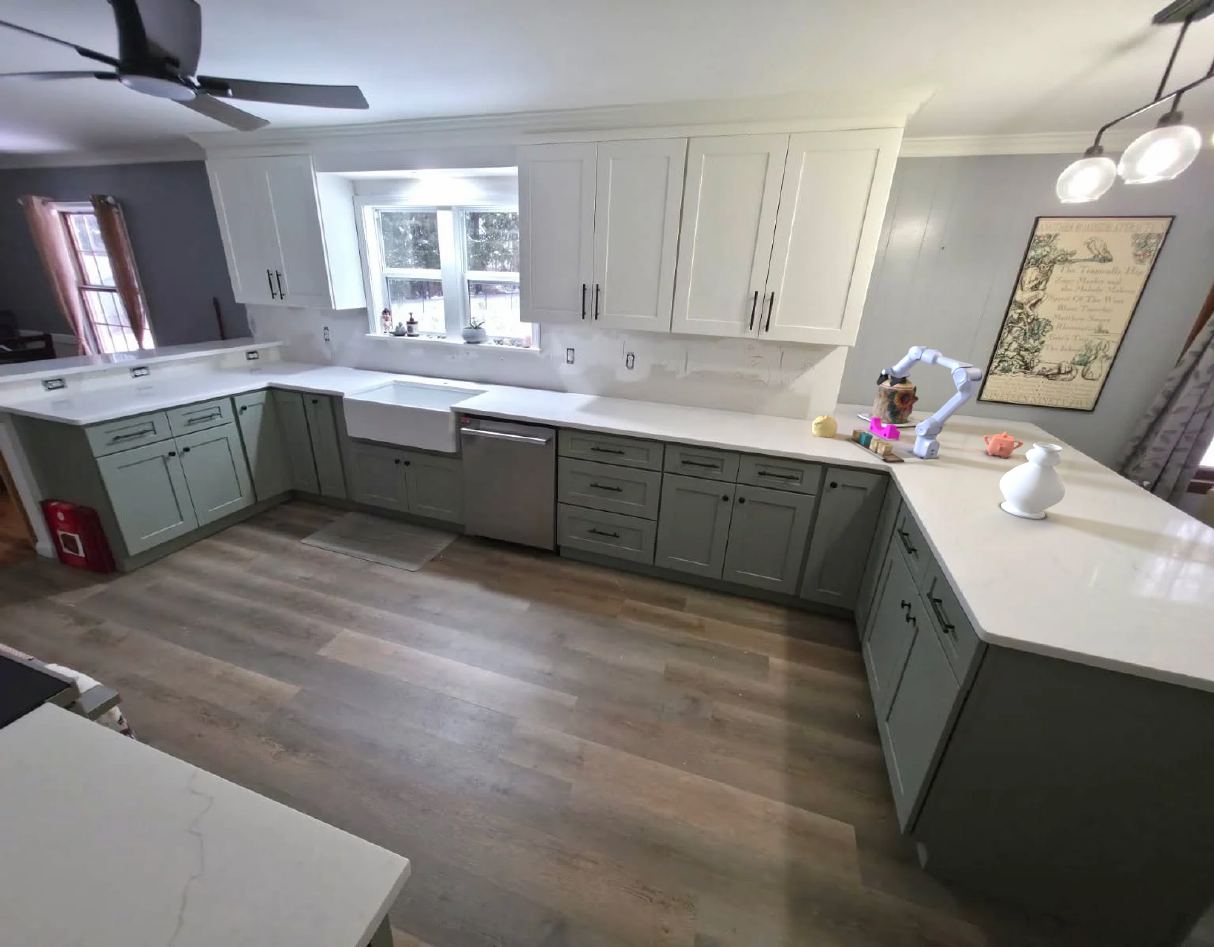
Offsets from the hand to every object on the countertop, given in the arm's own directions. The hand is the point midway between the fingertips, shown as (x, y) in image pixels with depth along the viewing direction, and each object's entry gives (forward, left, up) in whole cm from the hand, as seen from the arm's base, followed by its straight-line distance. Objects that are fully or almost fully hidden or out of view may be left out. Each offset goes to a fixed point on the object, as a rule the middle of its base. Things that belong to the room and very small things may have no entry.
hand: (884, 384), depth 244 cm
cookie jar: (+21, -26, -27) cm, 43 cm away
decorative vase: (-84, -1, -27) cm, 88 cm away
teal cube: (-13, +13, -26) cm, 32 cm away
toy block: (-1, -6, -27) cm, 27 cm away
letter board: (-20, +13, -27) cm, 36 cm away
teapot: (-33, -42, -27) cm, 60 cm away
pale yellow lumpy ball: (+2, +26, -27) cm, 38 cm away
